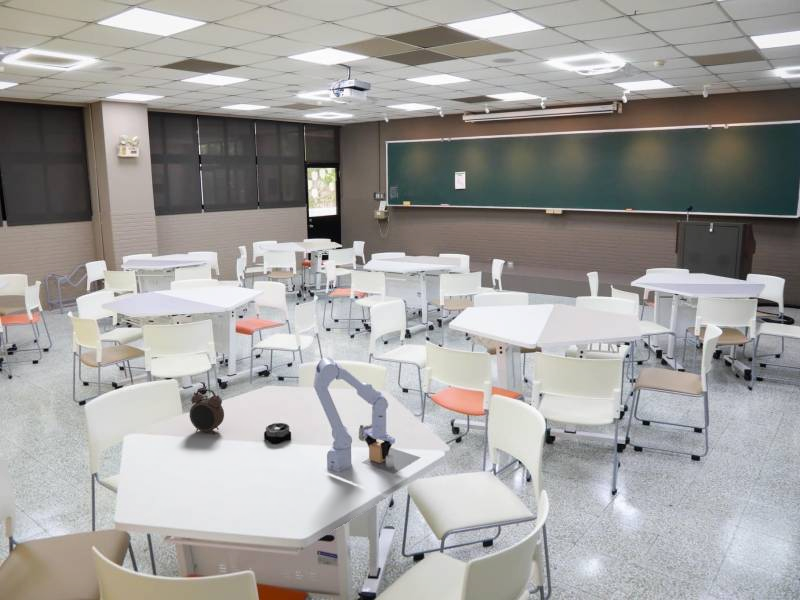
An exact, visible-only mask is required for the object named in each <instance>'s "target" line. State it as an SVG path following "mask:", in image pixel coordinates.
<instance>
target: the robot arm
mask: <svg viewBox="0 0 800 600" xmlns="http://www.w3.org/2000/svg"><path fill="white" fill-rule="evenodd" d="M334 380H343V381H345V382H346V383H347V384H348V385H350V386H351V387H352V388H354V389H355V390H356V394H357V395H358V396H359V397H360V398H361V399H363V400H364V401H365V402H367V403H368V404H370V405H371V424H372V428H371V429H368V430H367V429H366V430H364V436H365V439H364V441H365V442H366V445H367V447H368V448H369V445H370V444H372V443H374V442H376V441H381V442H383V443H381V444H380V445H381V448H382V457H383V459H386V456H387V455H388V452H389V449H390V448H392V445H394V444H395V443H396V438H395V437H393V436H391V435H389V434H388V432H387V409H388V408H389V403H388V399H386V397H385V396H384V394H382V392H381V391H380V390H376V389H375V388H374V387H373V385H372V384H371V383H370V382H369V383H368V382H361V381H360V380H359V379H358V378H356V377H355V376H354V375H353V374H352V373H351V372H350V371H348V370H347V368H345V367H343V366H342V365H341V364H339V363H338V362H336V361H334V360H333V359H332V358H330V357H324V358H322V359H320V360H319V362H318V363H317V365H316V367H315V375H314V380H313V388H314V390H315V392H316V395H317V397H318V399H319V402H320V404H321V406H322V408H323V411H324V413H325V416H326V417H327V420H328V422H329V424H330V427H331V435H332V438H333V443H332V447H331V449H329V451H327V454H326V468H327V469H330V470H333V471H335V472H341V471H343V470H346V469H348V468H350V467H351V466H352V443H353V438H352V436H351V435H350V433H349V431H348V428H347V426H344V424H343V421H342V420H341V416H340V415H339V411H338V410H337V407H336V405H335V403H334V401H333V398H332V395H331V394H330V391H329V389H328V388H329V386H330V384H331V383H332V382H333V381H334ZM364 436H363V437H364Z"/></svg>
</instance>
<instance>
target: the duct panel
mask: <svg viewBox="0 0 800 600" xmlns="http://www.w3.org/2000/svg"><path fill="white" fill-rule="evenodd" d="M419 459H421V457H420V456H417V455H416V454H412V453H409V452H405V451H402V450H399V449H396V448H392V447H390V449H389V455H387V456H386V460H385V461H383V462H381V463H378V462H375V461H372V460H370V459H369V458H367V459H366V460H363V461H362V462H361V463H362V464H364V465H367V466H370V467H373V468H376V469H379V470H382V471H385V472H387V473H390V474H393V475H394V474H397V473H398V472H399V471H402V470H403V469H404V468H406V467H407V466H410V465H411V464H413V463H415V462H416V461H418V460H419Z"/></svg>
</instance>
